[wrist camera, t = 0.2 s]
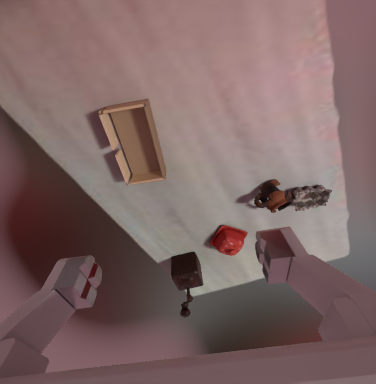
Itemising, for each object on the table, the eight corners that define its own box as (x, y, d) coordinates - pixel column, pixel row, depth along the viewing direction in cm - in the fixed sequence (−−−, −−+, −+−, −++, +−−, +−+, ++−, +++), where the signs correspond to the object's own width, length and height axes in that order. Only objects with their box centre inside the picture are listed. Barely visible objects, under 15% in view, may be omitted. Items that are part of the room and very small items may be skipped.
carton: (108, 106, 49) (102, 111, 45) (148, 98, 49) (145, 103, 44) (133, 175, 61) (130, 184, 56) (166, 170, 60) (165, 179, 56)
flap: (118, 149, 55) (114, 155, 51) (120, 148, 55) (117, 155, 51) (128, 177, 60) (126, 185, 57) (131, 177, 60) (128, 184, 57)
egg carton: (289, 204, 69) (294, 211, 66) (293, 185, 65) (299, 192, 62) (320, 202, 69) (327, 210, 65) (326, 183, 65) (335, 190, 61)
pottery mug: (284, 173, 63) (301, 195, 59) (275, 188, 71) (289, 208, 67) (250, 187, 62) (264, 210, 58) (245, 200, 70) (257, 221, 66)
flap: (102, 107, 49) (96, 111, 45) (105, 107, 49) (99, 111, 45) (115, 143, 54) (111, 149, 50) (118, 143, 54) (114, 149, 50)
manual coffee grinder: (169, 256, 83) (167, 301, 69) (194, 250, 82) (199, 294, 67) (180, 277, 92) (181, 320, 77) (204, 272, 91) (209, 314, 76)
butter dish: (222, 221, 74) (227, 239, 67) (248, 230, 77) (255, 247, 70) (207, 241, 80) (210, 260, 73) (232, 248, 83) (237, 266, 76)
